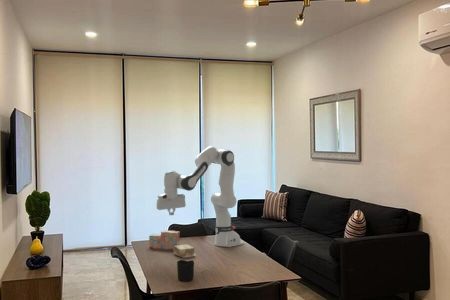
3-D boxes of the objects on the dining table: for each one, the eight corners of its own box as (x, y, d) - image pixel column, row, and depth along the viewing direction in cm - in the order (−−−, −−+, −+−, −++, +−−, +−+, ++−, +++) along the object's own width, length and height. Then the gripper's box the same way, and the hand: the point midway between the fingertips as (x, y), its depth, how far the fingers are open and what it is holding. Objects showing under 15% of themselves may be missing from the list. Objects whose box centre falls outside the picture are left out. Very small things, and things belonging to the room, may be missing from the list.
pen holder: (187, 276, 248) (187, 258, 248) (197, 279, 241) (197, 262, 241) (173, 279, 242) (173, 261, 242) (183, 283, 235) (183, 265, 235)
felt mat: (188, 251, 304) (188, 251, 304) (196, 255, 293) (196, 254, 293) (175, 253, 299) (175, 252, 299) (182, 257, 288) (182, 256, 288)
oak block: (173, 253, 298) (187, 251, 303) (180, 257, 288) (194, 255, 292) (173, 245, 298) (187, 244, 303) (180, 249, 288) (194, 247, 292)
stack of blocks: (149, 248, 316) (149, 231, 316) (152, 246, 322) (152, 229, 322) (176, 249, 311) (176, 232, 311) (179, 247, 317) (179, 231, 317)
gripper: (183, 193, 303) (183, 212, 304) (155, 195, 293) (156, 216, 294) (186, 194, 298) (187, 214, 298) (158, 196, 288) (159, 217, 288)
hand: (171, 215), depth 296 cm, fingers closed
